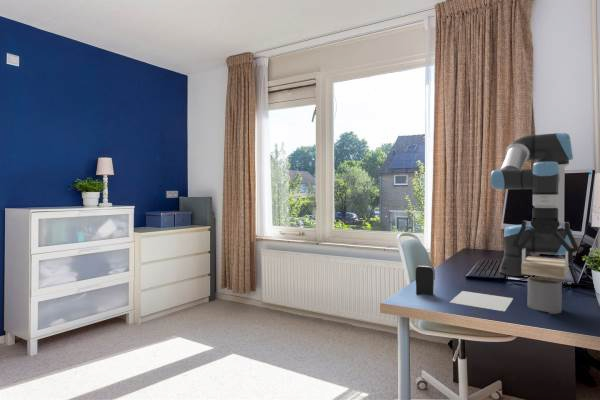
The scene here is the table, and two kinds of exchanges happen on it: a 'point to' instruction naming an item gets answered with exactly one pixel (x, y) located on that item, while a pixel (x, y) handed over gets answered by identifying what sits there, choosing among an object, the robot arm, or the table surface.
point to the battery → (425, 280)
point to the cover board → (544, 267)
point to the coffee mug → (545, 294)
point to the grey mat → (482, 300)
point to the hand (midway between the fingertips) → (544, 269)
